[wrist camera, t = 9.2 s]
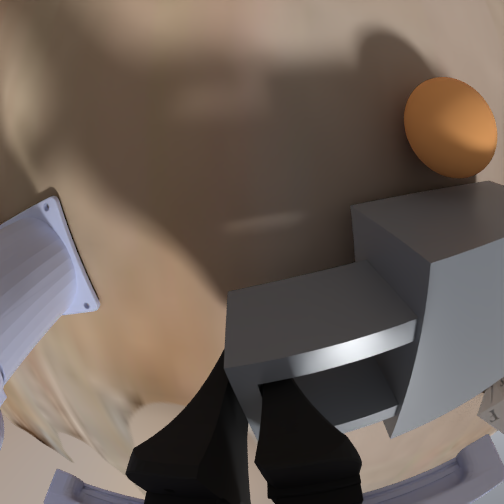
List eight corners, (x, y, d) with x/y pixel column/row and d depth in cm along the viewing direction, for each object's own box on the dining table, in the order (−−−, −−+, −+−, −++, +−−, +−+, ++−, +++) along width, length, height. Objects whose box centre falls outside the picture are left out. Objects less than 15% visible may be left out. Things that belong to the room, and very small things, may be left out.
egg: (465, 165, 7) (425, 47, 7) (397, 186, 12) (376, 95, 12) (524, 172, 7) (493, 74, 7) (461, 185, 12) (441, 106, 12)
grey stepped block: (262, 383, 16) (271, 470, 11) (217, 234, 12) (199, 320, 7) (471, 315, 16) (517, 365, 10) (488, 180, 12) (565, 211, 6)
